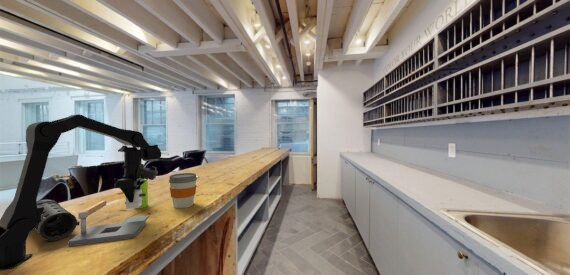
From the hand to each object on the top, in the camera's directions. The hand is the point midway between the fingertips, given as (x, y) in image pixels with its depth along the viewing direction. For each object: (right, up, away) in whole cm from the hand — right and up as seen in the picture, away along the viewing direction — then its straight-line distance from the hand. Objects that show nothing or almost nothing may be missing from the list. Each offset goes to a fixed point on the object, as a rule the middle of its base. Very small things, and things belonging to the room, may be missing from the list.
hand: (133, 200), depth 89 cm
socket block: (0, -9, -11) cm, 14 cm away
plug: (0, -3, 0) cm, 2 cm away
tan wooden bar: (-10, -2, -8) cm, 12 cm away
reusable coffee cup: (+11, -8, +20) cm, 24 cm away
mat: (0, -8, 0) cm, 8 cm away
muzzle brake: (-23, -5, -3) cm, 23 cm away
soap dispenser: (-9, -9, +18) cm, 22 cm away
